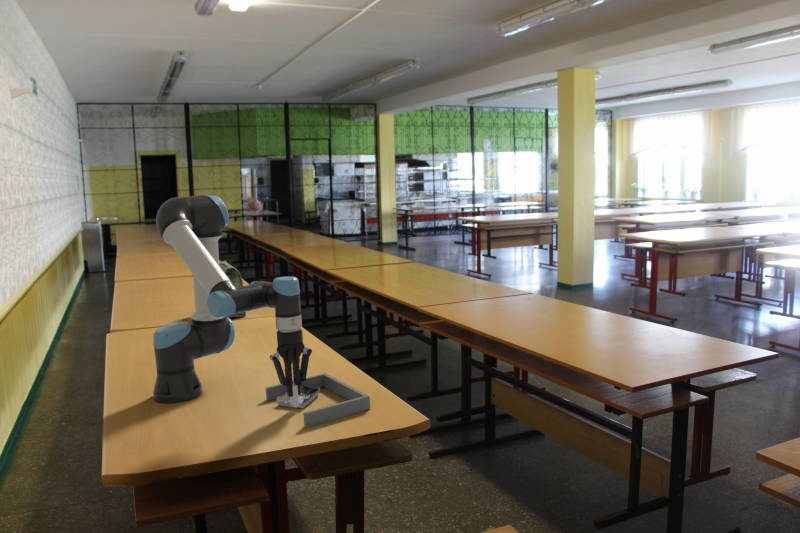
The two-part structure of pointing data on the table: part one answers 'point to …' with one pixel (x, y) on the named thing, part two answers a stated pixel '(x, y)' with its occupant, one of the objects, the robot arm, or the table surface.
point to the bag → (233, 280)
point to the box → (328, 413)
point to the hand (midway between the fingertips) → (294, 405)
